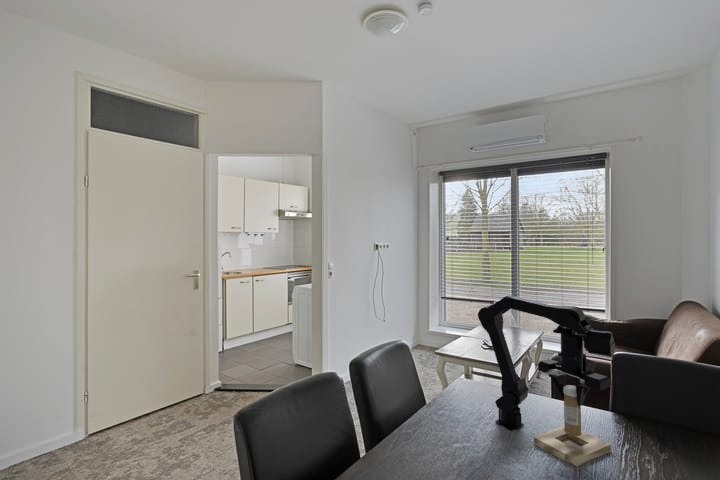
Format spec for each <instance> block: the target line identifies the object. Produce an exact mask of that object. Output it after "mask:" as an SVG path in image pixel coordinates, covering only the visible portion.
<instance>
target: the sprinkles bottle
mask: <svg viewBox="0 0 720 480" xmlns="http://www.w3.org/2000/svg"><path fill="white" fill-rule="evenodd" d="M563 393H564V400H563V419H564V425H565V428H564V431H565V432H566V433H567V434H569V435H571V436H581V434H582V433H581V431H582V413H581V412H582V411H581V409H582V407H581V406H582V405H581V406H578V402H577V393H576V385H571V384H566V385H565V386H564V387H563Z"/></svg>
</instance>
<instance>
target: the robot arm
mask: <svg viewBox="0 0 720 480" xmlns="http://www.w3.org/2000/svg"><path fill="white" fill-rule="evenodd" d="M510 310H514V311H519V312H522V313H525V314H530V315H534V316H537V317H541V318H545V319H547V320H549V321H551V322H553V323H554V324H557V325H558V326H557V327H556V328H555V329H553V330H552V333H553V334H554V333H555V334H559V335H560V351H559V352H558V353H557V356H558V357H560V361H557V360H554V359H552V358H551V359H550V358H546V359H543V360H541V361H540V360H539V362H538V364H537V370H538V371H540V372H543V373H546V374H547V373H549V374H548V377H550V378H551V380H552V382H553V383H554V385H555V386H556V389H557V390H558V392H559V394H560V396H561V399H562V401H564V393H563V387H564V386H565V385H567V380H568V377H570V378H571V377H572V378H573V379H576V380H577V379H578V380H579V381H580V382H578V383H575V386H576V393H577V402H578V406H583V403H584V401H585V399H586V397H587V395H588V392H589V391H590V389H592V390H595V391H603V390H606V389H609V388H611V386H612V385H611V383H612V381H611V379H610V378H609V376H608V375H603V374H600V373H597V372H594V371H595V366H596V361H594V360H591V359H588V358H587V354H586V353H584V349H585V351H586V352H588V354H593V355H597V356H602V357H609V358H614V356H615V350H616V342H615V340H614V336H613V332H612V331H603V330H596V329H594V328H593V327H592V325H591V324H590V322H589V321H588V320H587V319H586V318H585V313H584V311H583V310H582V309H581V308H580V307H578V306H576V305H575V306H574V305H564V304H562V305H561V304H560V305H559V304H558V305H554V304H553V305H552V304H548V303H544V302H540V301H535V300H532V299H527V298H523V297H518V296H515V295H513V294H510V295H506V296H503V297H502V299H500V300H498V301H496V302H494V303H493V304H491V305H488V306H484V307H482V308H480V309H479V311H478V312H477V317H478V320H479V322H480V324H481V327H482V328H483V329H484V331H486V332H487V334H488V337H489V339H490V342H491V343H490V344H491V346H492V349H493V353H494V355H495V359H496V362H497V364H498V369H499V372H500V375H501V385H500V387H501V395H502V396H500V397H499V398H497V399H496V400H495V402H494V403H495V405H496V408H497V409H498V419H497V420H495V421H494V422H495V423H496V424H498V425H499V426H501V427H503V428H504V429H506V430H509V431H514V430H518V429H520V428H522V427H524V426H525V425H524V423H523V422H522V413H521V408H520V407H519V405H521V404H522V402H524V401H525V400H526V399H527V398H528V395H529V391H530V389H529V388H528V386H527V382H526V378H525V377H522V378H521V377H520V376H519V375H518V374H517V371H516V368H515V364H514V363H513V362H514V361H513V359H512V357H511V356H512V355H511V352H510V349H509V347H508V343H507V340H506V337H505V334H504V331H503V329H504V317H503V315H504V314H506V313H507V312H508V311H510ZM588 372H592V373H590V374H587V373H588Z"/></svg>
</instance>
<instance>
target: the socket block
mask: <svg viewBox="0 0 720 480" xmlns="http://www.w3.org/2000/svg"><path fill="white" fill-rule="evenodd" d="M564 428H565V424H564V425H563V426H559V427H556V428H555V429H551V430H549V431H546V432H543V433H541V434H538V435H535V436H533V444H534V445H536V446H538V447H540V448H541V449H543V450H545V451H547V452H548V453H550V454H552V455H554V456H555V457H557V458H559V459H561V460H563V461H564V462H566V463H567V464H571V465H572V466H573V467H576V468H578V467H580V466H583V465H584V464H586V463H588V462H590V461H593V460H595V459H596V458H600V457H601V456H603V455H605V454H607V453H608V454H609V452H611V451H612V446H611V443H609V442H607V441H605V440H603V439H600V438H598V437H596V436H594V435H593V434H590V433H587V432H585V431H583V430H581V433H582V434H581V436H571V435H569V434H567V433H566V432H565V431H564Z"/></svg>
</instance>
